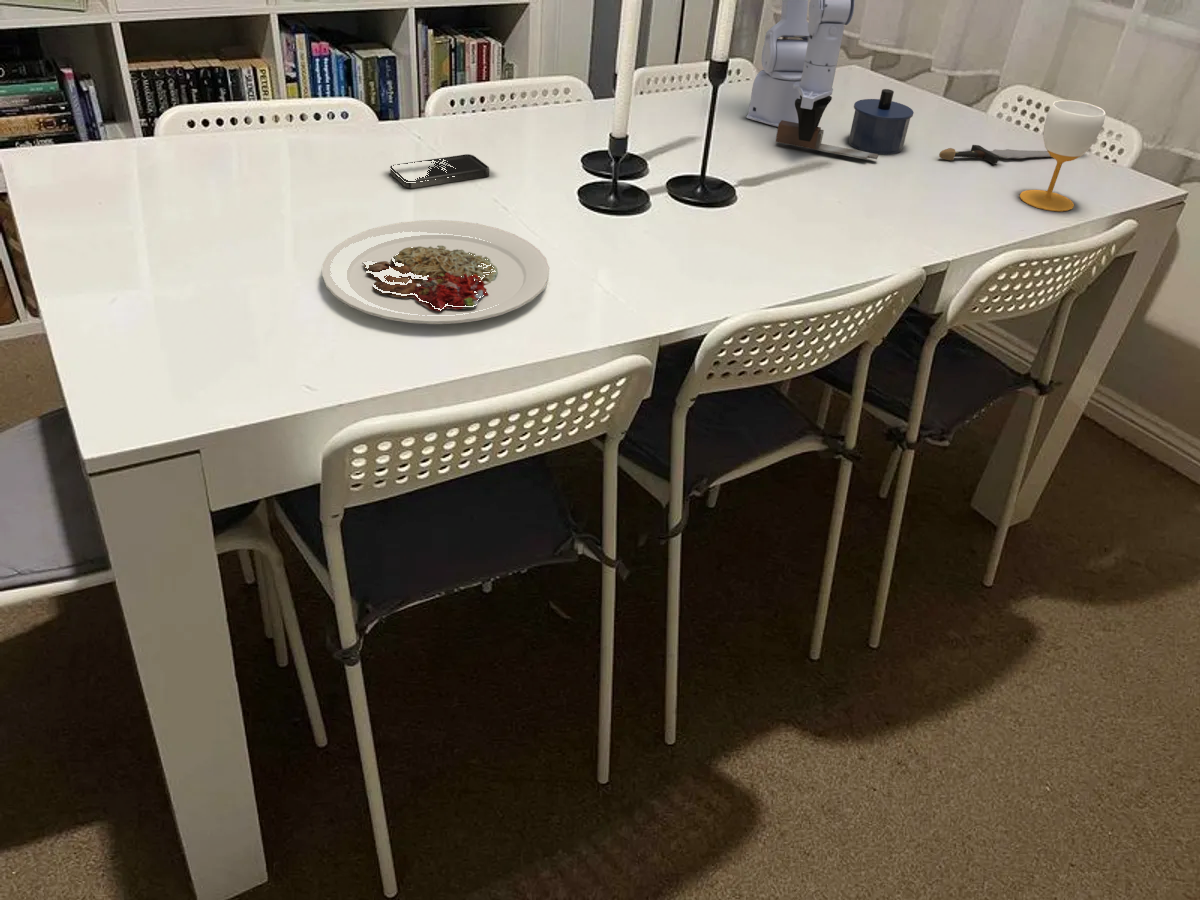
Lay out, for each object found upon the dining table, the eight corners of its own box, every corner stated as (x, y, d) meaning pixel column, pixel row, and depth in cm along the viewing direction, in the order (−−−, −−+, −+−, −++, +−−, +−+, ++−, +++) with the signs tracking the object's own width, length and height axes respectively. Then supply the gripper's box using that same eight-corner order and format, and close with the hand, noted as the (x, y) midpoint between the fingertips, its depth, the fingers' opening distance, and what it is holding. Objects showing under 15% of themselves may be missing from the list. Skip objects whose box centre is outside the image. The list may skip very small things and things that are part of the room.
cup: (1019, 187, 176) (1049, 96, 166) (1072, 197, 174) (1106, 105, 164) (1019, 205, 169) (1050, 111, 159) (1074, 215, 167) (1110, 120, 157)
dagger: (927, 150, 189) (929, 139, 188) (1080, 153, 193) (1084, 142, 192) (943, 165, 183) (946, 154, 182) (1101, 167, 188) (1105, 156, 186)
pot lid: (843, 113, 185) (848, 89, 182) (867, 100, 192) (872, 78, 190) (898, 127, 180) (903, 104, 177) (921, 114, 187) (927, 91, 185)
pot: (839, 144, 188) (846, 110, 185) (862, 131, 195) (869, 98, 191) (889, 158, 184) (897, 123, 180) (910, 145, 191) (919, 111, 187)
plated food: (442, 214, 150) (441, 193, 148) (593, 281, 136) (595, 258, 134) (276, 276, 131) (272, 253, 129) (432, 361, 116) (431, 336, 114)
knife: (775, 142, 184) (778, 124, 182) (778, 137, 187) (781, 119, 184) (875, 161, 179) (880, 142, 177) (878, 156, 182) (882, 138, 180)
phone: (491, 169, 163) (406, 182, 156) (491, 175, 164) (407, 189, 157) (470, 153, 168) (387, 165, 162) (470, 159, 169) (388, 171, 162)
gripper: (806, 49, 182) (793, 122, 190) (790, 67, 171) (776, 145, 179) (844, 55, 180) (829, 129, 188) (830, 74, 169) (815, 152, 177)
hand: (806, 137), depth 183 cm, fingers closed on knife, 2 cm apart
